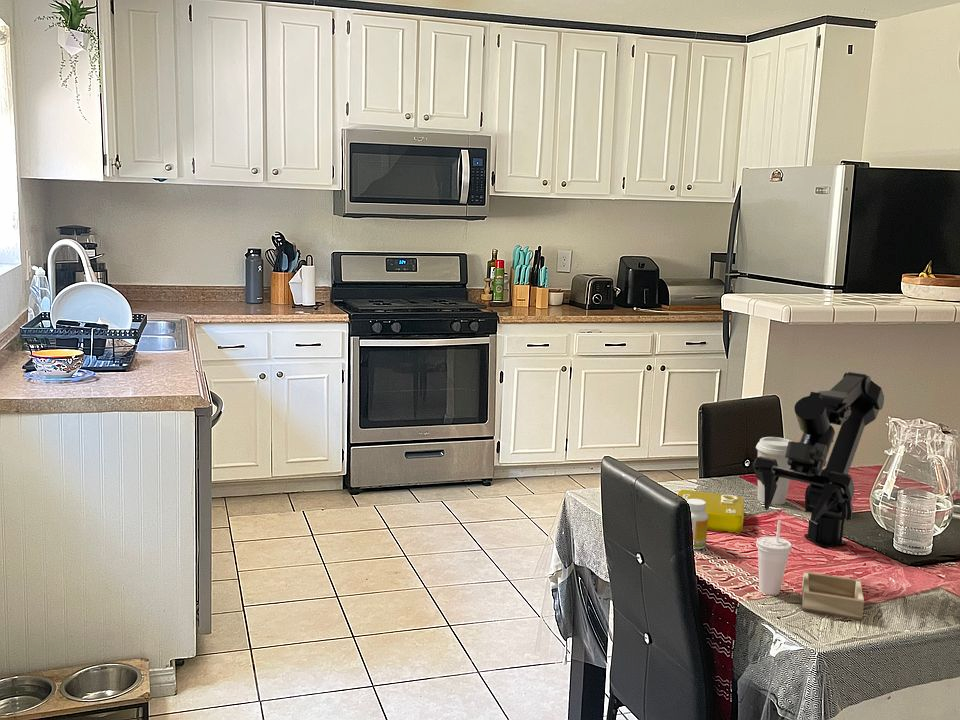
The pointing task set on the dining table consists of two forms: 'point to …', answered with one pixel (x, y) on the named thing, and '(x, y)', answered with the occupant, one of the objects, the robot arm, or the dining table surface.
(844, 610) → the cup holder
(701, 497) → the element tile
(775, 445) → the coffee cup
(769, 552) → the smoothie
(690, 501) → the supplement bottle
